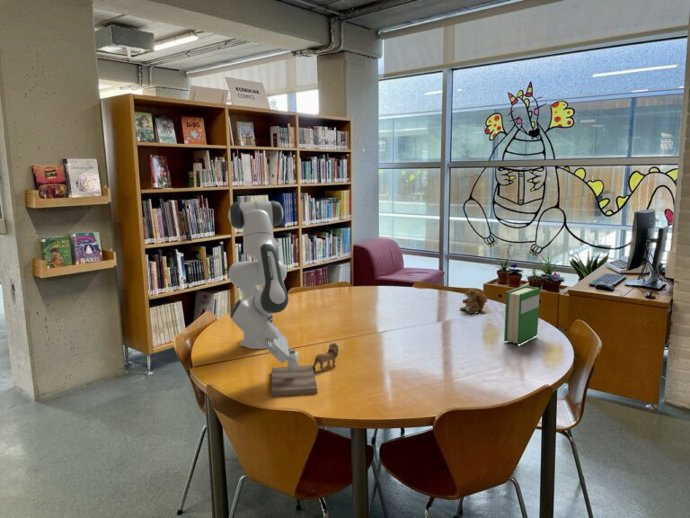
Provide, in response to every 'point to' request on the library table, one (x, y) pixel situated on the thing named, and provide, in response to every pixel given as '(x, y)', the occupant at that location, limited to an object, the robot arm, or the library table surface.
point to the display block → (293, 381)
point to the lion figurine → (327, 356)
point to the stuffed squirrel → (474, 301)
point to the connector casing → (294, 367)
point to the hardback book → (521, 314)
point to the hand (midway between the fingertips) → (294, 359)
